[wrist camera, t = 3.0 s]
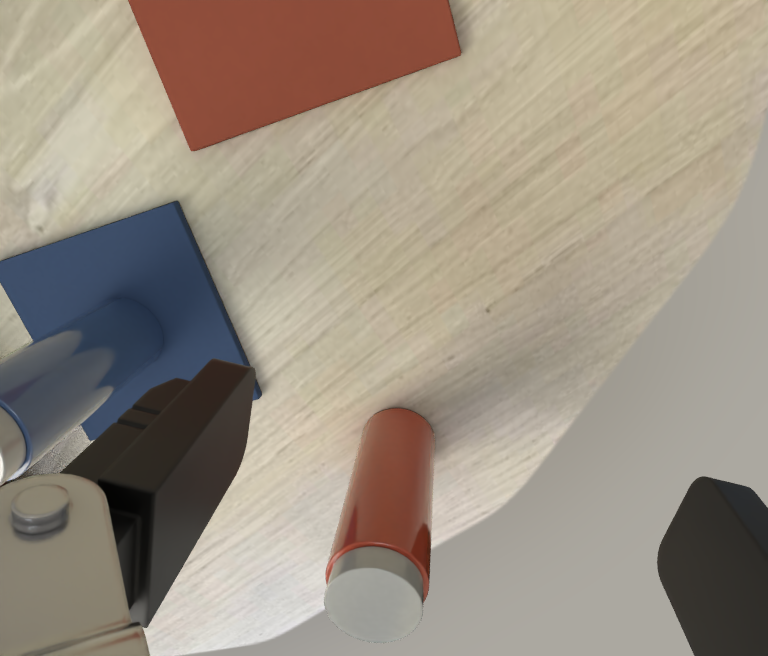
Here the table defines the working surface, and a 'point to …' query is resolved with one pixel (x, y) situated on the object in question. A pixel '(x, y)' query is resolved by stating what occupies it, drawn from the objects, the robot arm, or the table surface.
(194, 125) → the terracotta mat
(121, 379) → the blue shaker
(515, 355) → the table surface
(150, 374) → the blue mat
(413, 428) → the terracotta shaker
